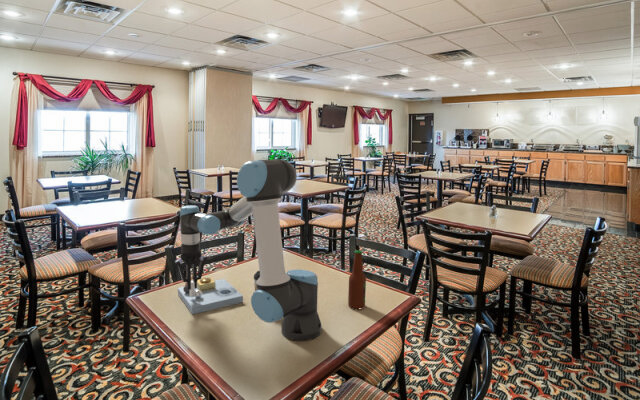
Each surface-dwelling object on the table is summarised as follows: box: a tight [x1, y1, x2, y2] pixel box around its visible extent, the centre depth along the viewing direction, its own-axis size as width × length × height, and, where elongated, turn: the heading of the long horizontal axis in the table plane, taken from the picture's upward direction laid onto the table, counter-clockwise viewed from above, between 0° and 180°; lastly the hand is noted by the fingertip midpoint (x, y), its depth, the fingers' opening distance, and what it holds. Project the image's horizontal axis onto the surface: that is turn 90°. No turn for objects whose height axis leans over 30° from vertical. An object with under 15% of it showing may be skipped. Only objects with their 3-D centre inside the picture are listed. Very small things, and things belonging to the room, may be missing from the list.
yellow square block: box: [197, 277, 216, 291], centre depth 171 cm, size 7×7×4 cm
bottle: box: [347, 249, 367, 310], centre depth 159 cm, size 7×7×25 cm
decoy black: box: [183, 285, 190, 293], centre depth 165 cm, size 4×4×4 cm
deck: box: [177, 278, 244, 315], centre depth 167 cm, size 24×22×3 cm
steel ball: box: [195, 290, 202, 298], centre depth 160 cm, size 4×4×4 cm
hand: (192, 295), depth 158 cm, fingers closed
